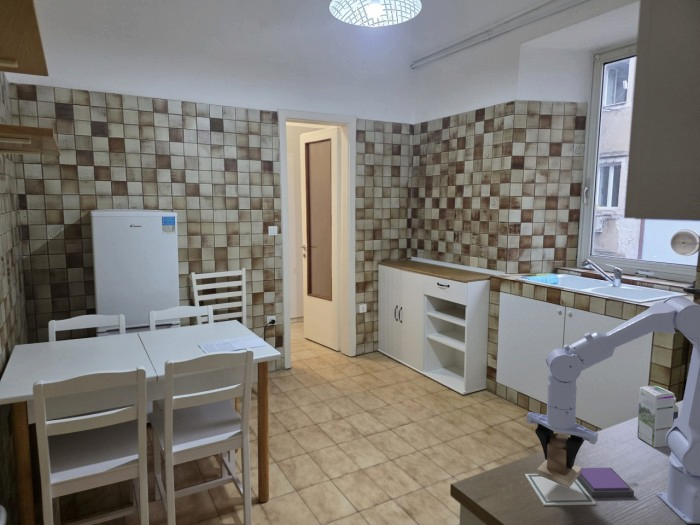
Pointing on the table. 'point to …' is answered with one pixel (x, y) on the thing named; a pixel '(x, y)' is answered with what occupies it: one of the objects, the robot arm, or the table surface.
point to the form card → (559, 492)
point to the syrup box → (655, 414)
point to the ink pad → (604, 483)
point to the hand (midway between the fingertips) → (559, 462)
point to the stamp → (558, 462)
